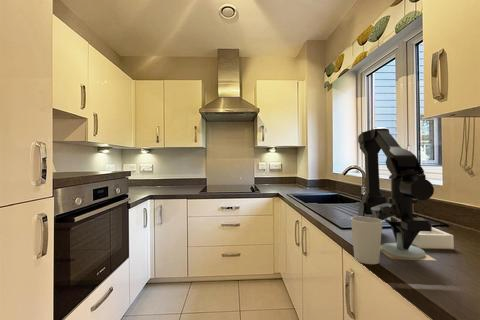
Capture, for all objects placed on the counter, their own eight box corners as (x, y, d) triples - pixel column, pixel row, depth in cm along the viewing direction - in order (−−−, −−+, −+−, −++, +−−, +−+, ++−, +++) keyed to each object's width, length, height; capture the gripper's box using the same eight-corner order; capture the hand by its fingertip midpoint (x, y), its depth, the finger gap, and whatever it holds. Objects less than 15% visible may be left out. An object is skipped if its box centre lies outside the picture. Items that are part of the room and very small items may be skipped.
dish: (402, 240, 91) (402, 226, 91) (432, 241, 90) (432, 227, 90) (419, 250, 81) (419, 234, 81) (453, 251, 80) (453, 235, 80)
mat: (373, 247, 84) (373, 244, 84) (412, 248, 83) (412, 245, 83) (391, 261, 72) (391, 258, 72) (436, 263, 71) (436, 260, 71)
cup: (374, 257, 76) (374, 216, 76) (388, 268, 68) (388, 223, 68) (347, 256, 76) (346, 216, 76) (357, 268, 68) (357, 222, 68)
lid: (375, 245, 84) (375, 228, 84) (411, 246, 83) (411, 229, 83) (392, 258, 73) (392, 238, 73) (433, 259, 72) (433, 239, 72)
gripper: (362, 191, 88) (363, 237, 88) (388, 199, 69) (389, 257, 69) (397, 191, 87) (397, 237, 87) (433, 200, 68) (433, 259, 68)
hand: (402, 246), depth 78 cm, fingers open, 4 cm apart
